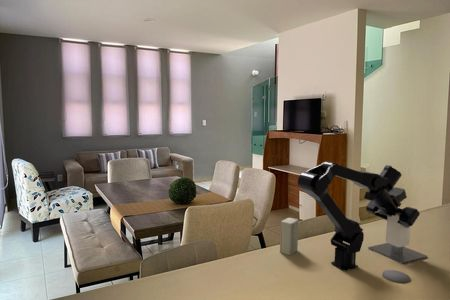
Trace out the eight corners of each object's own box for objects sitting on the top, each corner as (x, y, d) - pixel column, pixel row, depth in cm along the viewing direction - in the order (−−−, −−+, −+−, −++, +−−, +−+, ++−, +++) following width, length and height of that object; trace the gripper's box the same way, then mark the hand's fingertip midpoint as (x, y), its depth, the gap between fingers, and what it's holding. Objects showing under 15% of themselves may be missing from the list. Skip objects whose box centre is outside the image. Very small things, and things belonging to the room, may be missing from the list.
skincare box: (287, 247, 135) (288, 216, 133) (298, 250, 132) (299, 219, 130) (279, 252, 130) (280, 220, 128) (289, 255, 127) (290, 223, 126)
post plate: (403, 264, 121) (403, 251, 120) (368, 248, 134) (368, 237, 134) (427, 257, 126) (428, 245, 126) (391, 243, 140) (392, 232, 139)
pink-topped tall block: (398, 247, 126) (401, 215, 125) (385, 242, 131) (387, 210, 130) (409, 245, 129) (411, 213, 127) (395, 239, 134) (398, 209, 132)
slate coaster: (398, 285, 106) (398, 283, 106) (376, 274, 113) (376, 272, 113) (415, 279, 109) (415, 278, 109) (393, 269, 117) (393, 268, 117)
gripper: (418, 186, 117) (436, 214, 123) (373, 176, 134) (391, 202, 140) (400, 211, 115) (420, 239, 121) (356, 199, 131) (375, 223, 137)
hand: (401, 224), depth 130 cm, fingers closed on pink-topped tall block, 6 cm apart
